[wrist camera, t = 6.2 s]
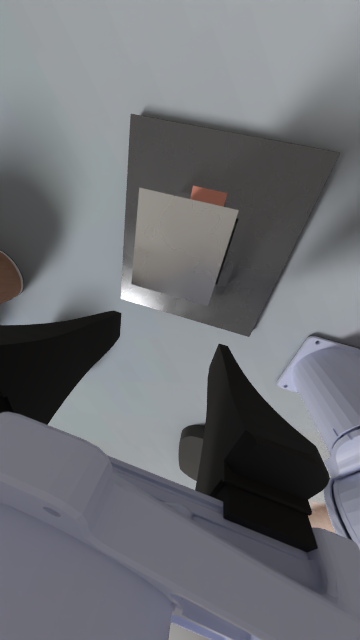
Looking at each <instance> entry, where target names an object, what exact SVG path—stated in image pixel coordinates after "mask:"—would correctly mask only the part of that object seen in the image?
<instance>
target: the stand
mask: <svg viewBox="0 0 360 640" xmlns="http://www.w3.org/2000/svg"><path fill="white" fill-rule="evenodd" d="M339 155H340V153H339V152H334V151H329V150H323V149H318V148H312V147H307V146H302V145H296V144H291V143H286V142H280V141H275V140H269V139H264V138H259V137H253V136H248V135H242V134H237V133H232V132H226V131H221V130H215V129H210V128H205V127H199V126H194V125H189V124H183V123H178V122H172V121H167V120H162V119H156V118H151V117H145V116H140V115H135V114H131V119H130V137H129V156H128V175H127V193H126V212H125V230H124V249H123V267H122V286H121V299H124V300H127V301H130V302H134V303H137V304H140V305H144V306H147V307H150V308H154V309H157V310H161V311H164V312H167V313H171V314H174V315H177V316H181V317H184V318H187V319H191V320H194V321H198V322H201V323H204V324H208V325H211V326H214V327H218V328H221V329H225V330H228V331H231V332H235V333H238V334H241V335H245V336H248V337H249V336H250V334H251V332H252V330H253V328H254V326H255V324H256V322H257V320H258V318H259V316H260V314H261V312H262V310H263V308H264V306H265V304H266V302H267V300H268V298H269V296H270V294H271V292H272V290H273V288H274V286H275V284H276V282H277V280H278V278H279V276H280V274H281V272H282V270H283V268H284V266H285V264H286V262H287V260H288V258H289V255H290V253H291V251H292V249H293V247H294V245H295V243H296V241H297V239H298V237H299V235H300V233H301V231H302V229H303V227H304V225H305V223H306V221H307V219H308V217H309V215H310V213H311V211H312V209H313V207H314V205H315V203H316V201H317V199H318V197H319V195H320V193H321V191H322V189H323V187H324V185H325V183H326V181H327V179H328V177H329V175H330V173H331V171H332V169H333V167H334V165H335V163H336V161H337V159H338V157H339ZM139 188H143V189H148V190H152V191H157V192H161V193H165V194H170V195H174V196H178V197H183V198H187V199H192V200H196V201H200V202H205V203H209V204H214V205H218V206H222V207H227V208H231V209H235V210H239V211H238V214H237V218H236V221H235V224H234V227H233V230H232V233H231V236H230V239H229V242H228V245H227V249H226V252H225V255H224V258H223V261H222V264H221V267H220V270H219V273H218V277H217V280H216V283H215V286H214V289H213V292H212V295H211V298H210V301H209V304H208V306H205V305H202V304H198V303H195V302H191V301H188V300H184V299H181V298H177V297H174V296H170V295H167V294H163V293H160V292H156V291H153V290H150V289H146V288H143V287H139V286H136V285H132V284H131V283H132V271H133V259H134V246H135V234H136V222H137V210H138V198H139Z"/></svg>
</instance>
